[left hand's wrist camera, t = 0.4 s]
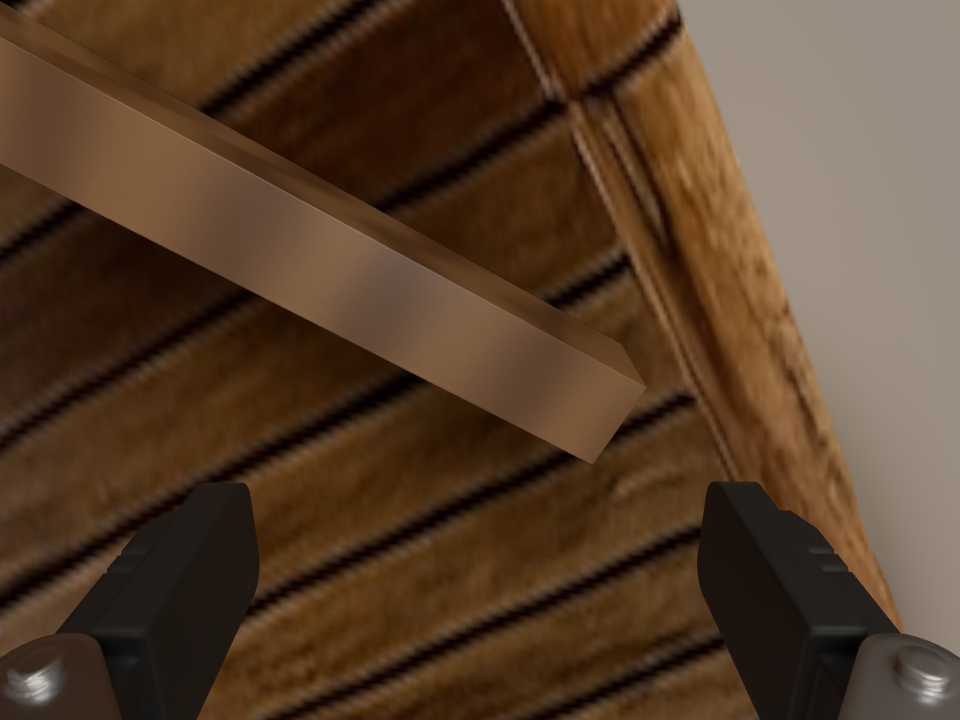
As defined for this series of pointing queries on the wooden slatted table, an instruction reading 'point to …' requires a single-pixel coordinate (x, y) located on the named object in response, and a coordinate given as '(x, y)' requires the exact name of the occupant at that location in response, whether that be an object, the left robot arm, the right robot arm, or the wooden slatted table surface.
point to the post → (302, 241)
